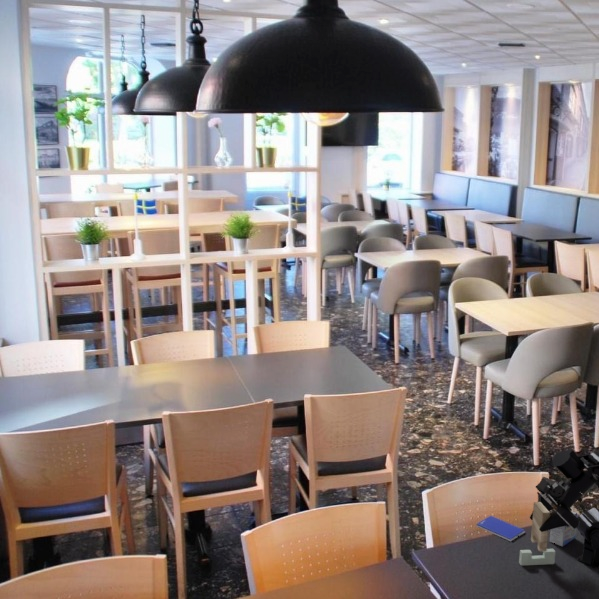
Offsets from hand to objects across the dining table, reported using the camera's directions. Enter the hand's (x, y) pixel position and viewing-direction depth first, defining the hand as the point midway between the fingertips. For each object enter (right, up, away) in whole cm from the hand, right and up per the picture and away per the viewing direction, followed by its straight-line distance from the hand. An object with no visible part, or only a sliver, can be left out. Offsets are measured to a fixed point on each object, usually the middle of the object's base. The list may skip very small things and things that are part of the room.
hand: (535, 524), depth 227 cm
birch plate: (+1, -6, +2) cm, 7 cm away
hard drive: (-4, -8, +22) cm, 24 cm away
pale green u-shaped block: (+1, -12, +3) cm, 12 cm away
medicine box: (+13, -9, +16) cm, 23 cm away
